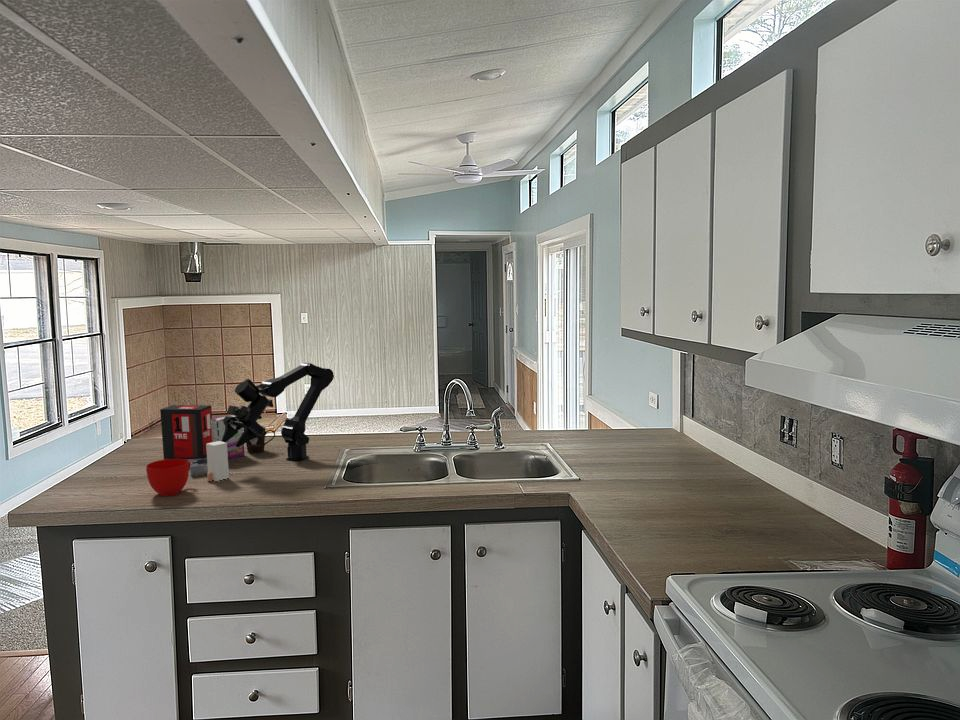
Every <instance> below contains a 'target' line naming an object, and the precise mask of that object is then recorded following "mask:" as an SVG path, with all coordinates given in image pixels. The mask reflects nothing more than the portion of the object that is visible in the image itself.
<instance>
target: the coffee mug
mask: <svg viewBox="0 0 960 720" xmlns="http://www.w3.org/2000/svg"><path fill="white" fill-rule="evenodd" d="M261 426H262V427H263V428H264V433H263V434H262V436H259V435H258V437H256V438H254V439H252V440H250V441H248V442H246V443H245V445H246V449H247V450H246V451H247V453H248V452H249V453H248V454H251V453H256V454H261V453H263V452H265V446H266V444H267V445H268V443H270V442H271V441H272V440H273V439H274V438H275V437H276V431H274V430H273V429H267V430H266V426H265V425H261ZM269 432H272V433H273V437H271V438H270V439H269V440H267V441H266V435H267V433H269ZM265 441H266V442H265Z"/></svg>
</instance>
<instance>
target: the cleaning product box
mask: <svg viewBox="0 0 960 720" xmlns="http://www.w3.org/2000/svg"><path fill="white" fill-rule="evenodd" d="M159 411H160V422H161V423H160V424H161V425H160V426H161V427H160V428H161V437H162V440H161V441H162V451H163V452H162V453H163V460H165V459H186V460H189V459H198V458H206V457H207V449H206V444H207V443H212V429H211V419H213V415H212V413H213V412H212V405H211V404H209V405H208V404H207V405H206V404H205V405H204V404H203V405H200V404H199V405H196V404H195V405H194V404H193V405H189V404H188V405H185V404H183V405H181V404H178V405H177V404H176V405H173V404H172V405H169V406H167V407H163V408H160V409H159Z"/></svg>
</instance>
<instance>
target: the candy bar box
mask: <svg viewBox="0 0 960 720" xmlns="http://www.w3.org/2000/svg"><path fill="white" fill-rule="evenodd" d="M229 416H232V417H234V418H235V416H234V415H231V414H229ZM224 418H225V416H219V417H216V418H212V419H211V429H212V442H216V441H222V438H223V435H224V432H225V425H224V422H223V419H224ZM237 420H238V419H237ZM242 433H243V428H242V427H241V429H240V430H238V433H237V434H235V435H234V436H233V437H232V438H231V439H229V440H228V441H227V442H226V443H227V453H228V460H230V458H231V459H234V457H235V458H239V457H242V455H243V456H245V444H243V445H241V446H240V447H236V444H237V442H238V440H239V438H240V437H241V435H242ZM238 456H239V457H238Z"/></svg>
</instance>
